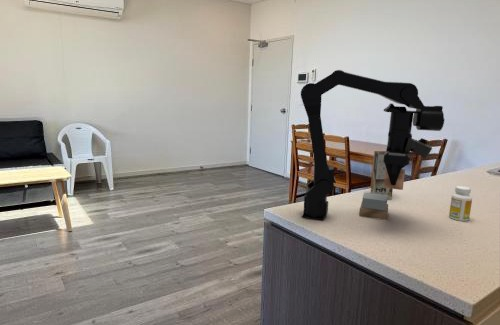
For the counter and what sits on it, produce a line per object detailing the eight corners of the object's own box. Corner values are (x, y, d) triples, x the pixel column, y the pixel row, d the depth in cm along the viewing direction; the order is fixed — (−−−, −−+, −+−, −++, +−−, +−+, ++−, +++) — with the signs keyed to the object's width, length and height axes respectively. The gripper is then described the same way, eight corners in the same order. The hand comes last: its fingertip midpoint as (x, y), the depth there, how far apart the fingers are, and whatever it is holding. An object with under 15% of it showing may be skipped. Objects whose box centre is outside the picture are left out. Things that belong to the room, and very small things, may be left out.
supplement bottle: (466, 216, 110) (471, 186, 108) (471, 222, 105) (475, 190, 103) (447, 214, 112) (451, 184, 110) (450, 219, 107) (455, 188, 105)
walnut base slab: (359, 217, 109) (360, 208, 108) (361, 209, 116) (362, 200, 115) (387, 221, 106) (388, 211, 105) (387, 213, 113) (388, 204, 112)
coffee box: (392, 200, 125) (397, 155, 122) (373, 198, 127) (377, 154, 124) (387, 193, 134) (392, 151, 131) (370, 191, 135) (374, 150, 132)
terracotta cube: (383, 187, 101) (385, 170, 100) (384, 183, 105) (386, 167, 104) (402, 190, 99) (404, 172, 98) (402, 185, 104) (404, 169, 103)
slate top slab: (361, 207, 108) (362, 198, 108) (363, 201, 115) (364, 192, 114) (386, 210, 106) (387, 201, 105) (386, 204, 112) (387, 195, 112)
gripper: (434, 134, 87) (426, 195, 91) (430, 128, 104) (423, 179, 107) (386, 131, 92) (380, 189, 95) (389, 125, 109) (383, 175, 112)
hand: (393, 183), depth 102 cm, fingers closed on terracotta cube, 5 cm apart
